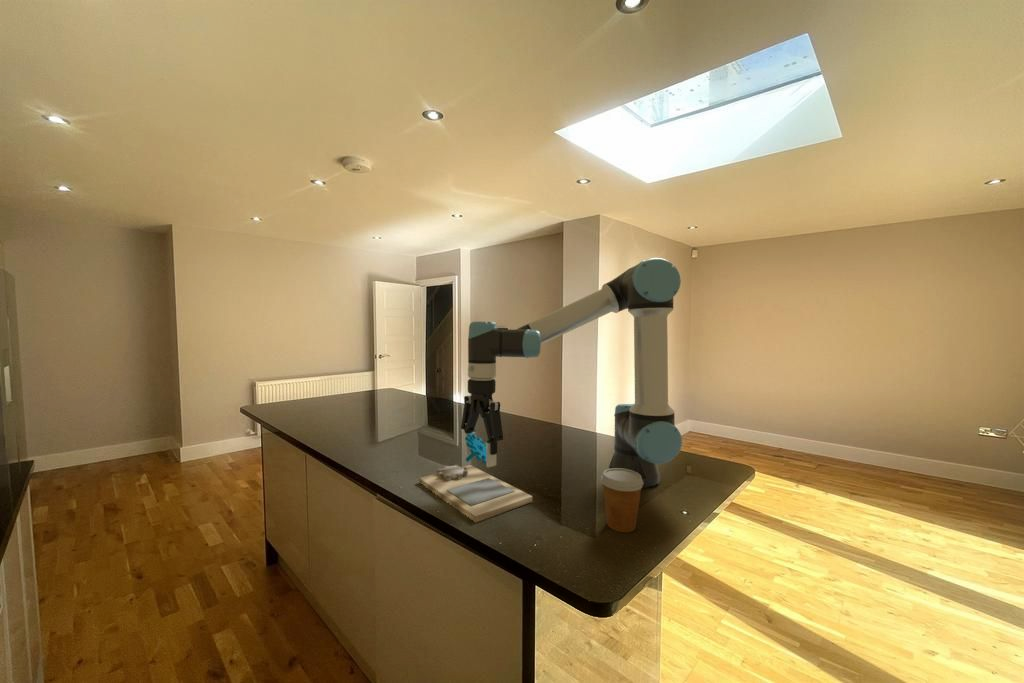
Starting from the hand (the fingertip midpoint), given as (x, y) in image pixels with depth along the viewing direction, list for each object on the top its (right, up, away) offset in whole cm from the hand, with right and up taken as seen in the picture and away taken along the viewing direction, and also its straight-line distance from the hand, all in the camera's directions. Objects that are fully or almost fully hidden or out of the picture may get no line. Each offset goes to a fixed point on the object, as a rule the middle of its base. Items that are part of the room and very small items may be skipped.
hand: (480, 460), depth 103 cm
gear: (0, 0, 0) cm, 0 cm away
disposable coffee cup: (+34, -11, -15) cm, 39 cm away
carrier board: (-3, -10, +3) cm, 11 cm away
